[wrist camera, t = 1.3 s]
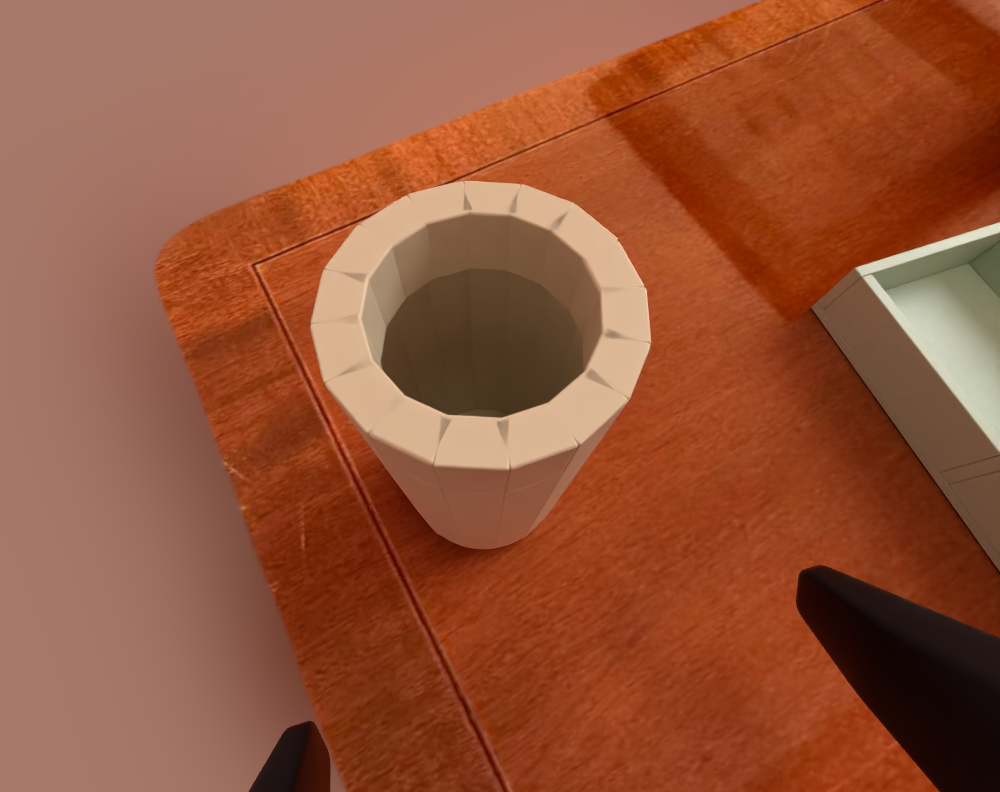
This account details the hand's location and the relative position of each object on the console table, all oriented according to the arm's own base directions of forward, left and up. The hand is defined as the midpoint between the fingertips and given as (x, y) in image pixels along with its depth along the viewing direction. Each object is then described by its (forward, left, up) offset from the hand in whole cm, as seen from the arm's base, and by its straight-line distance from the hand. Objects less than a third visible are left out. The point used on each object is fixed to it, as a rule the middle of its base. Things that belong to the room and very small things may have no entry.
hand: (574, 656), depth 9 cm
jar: (+7, -1, -13) cm, 14 cm away
